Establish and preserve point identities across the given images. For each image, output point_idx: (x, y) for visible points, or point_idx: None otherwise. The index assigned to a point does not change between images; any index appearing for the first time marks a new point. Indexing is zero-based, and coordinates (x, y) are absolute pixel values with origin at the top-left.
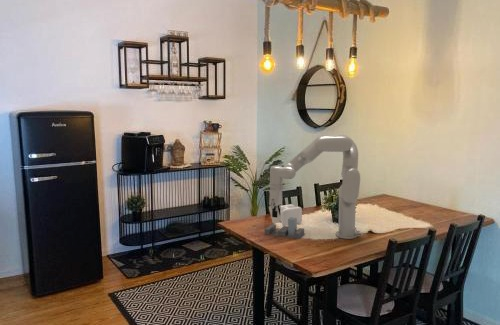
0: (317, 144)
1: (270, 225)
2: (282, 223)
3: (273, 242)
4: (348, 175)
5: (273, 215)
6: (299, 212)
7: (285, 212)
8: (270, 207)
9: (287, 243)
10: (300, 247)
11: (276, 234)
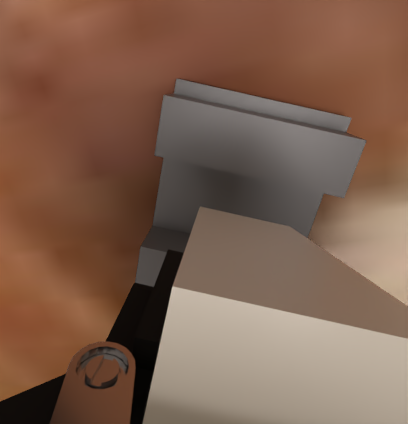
0: None
1: (316, 138)
2: None
3: (32, 203)
4: None
5: (133, 293)
6: None
7: None
8: (161, 353)
9: (52, 299)
10: (17, 370)
11: (182, 209)
